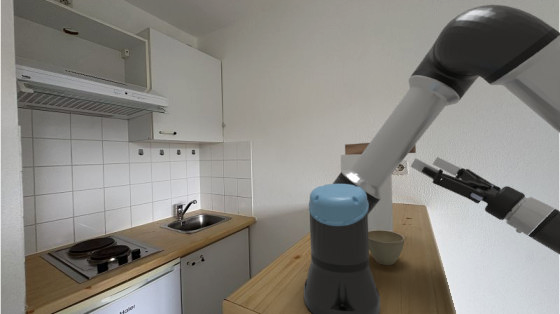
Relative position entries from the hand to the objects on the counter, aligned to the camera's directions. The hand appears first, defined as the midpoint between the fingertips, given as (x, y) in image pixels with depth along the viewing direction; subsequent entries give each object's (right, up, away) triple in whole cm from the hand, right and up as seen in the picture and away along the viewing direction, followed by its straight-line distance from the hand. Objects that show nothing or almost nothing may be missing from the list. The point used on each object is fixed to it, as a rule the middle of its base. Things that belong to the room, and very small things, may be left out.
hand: (424, 161), depth 66 cm
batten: (-9, +2, +13) cm, 16 cm away
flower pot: (-13, -28, -3) cm, 31 cm away
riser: (-11, -28, +17) cm, 34 cm away
